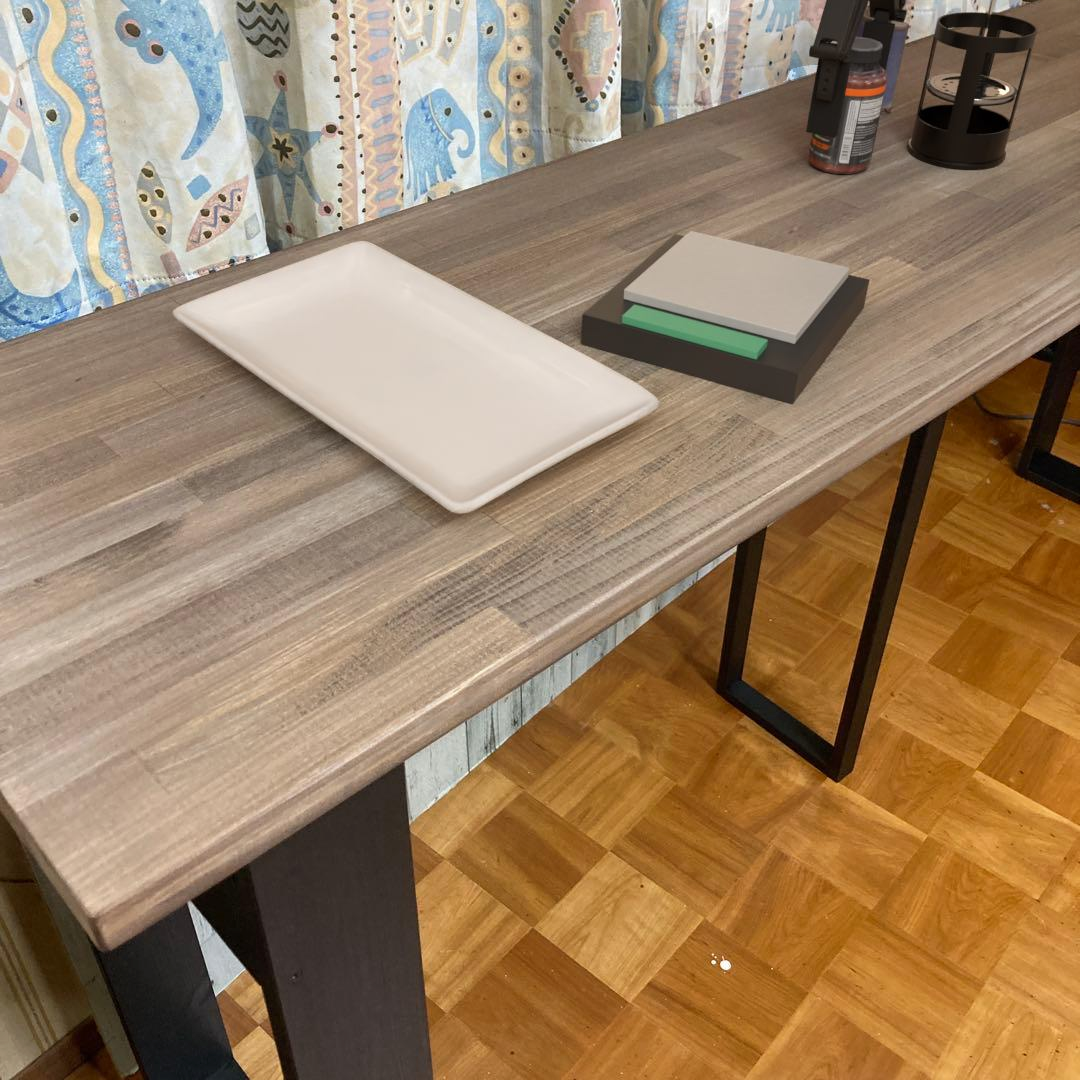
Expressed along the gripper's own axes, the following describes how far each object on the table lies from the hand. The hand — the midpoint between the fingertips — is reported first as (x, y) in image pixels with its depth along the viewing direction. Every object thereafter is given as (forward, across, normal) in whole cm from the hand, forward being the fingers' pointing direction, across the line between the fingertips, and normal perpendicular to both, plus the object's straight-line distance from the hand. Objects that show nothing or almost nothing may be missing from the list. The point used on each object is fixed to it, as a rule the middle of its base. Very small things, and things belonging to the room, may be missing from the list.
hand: (844, 112), depth 106 cm
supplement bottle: (+5, 0, 0) cm, 5 cm away
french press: (+5, -10, +9) cm, 15 cm away
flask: (+5, -20, -4) cm, 21 cm away
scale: (+5, +36, +3) cm, 37 cm away
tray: (+5, +56, -12) cm, 58 cm away
